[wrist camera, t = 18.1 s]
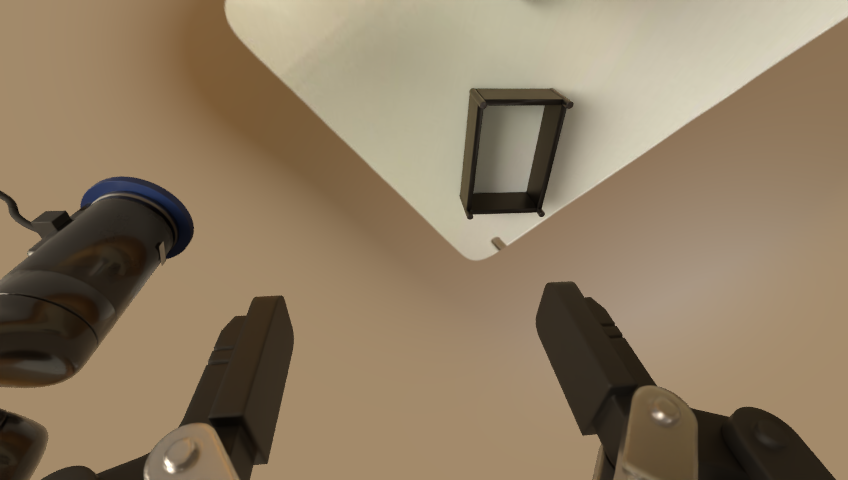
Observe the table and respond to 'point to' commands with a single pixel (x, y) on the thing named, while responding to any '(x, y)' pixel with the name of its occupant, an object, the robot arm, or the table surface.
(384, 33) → the table surface
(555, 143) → the dark brown frame
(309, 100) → the table surface
